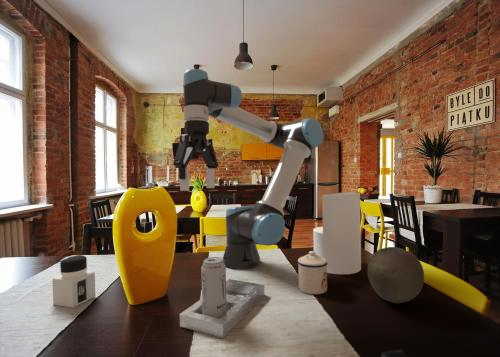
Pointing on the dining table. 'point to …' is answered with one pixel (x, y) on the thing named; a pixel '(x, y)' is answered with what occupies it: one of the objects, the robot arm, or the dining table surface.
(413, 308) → the dining table surface
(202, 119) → the robot arm
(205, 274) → the energy drink can
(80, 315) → the dining table surface
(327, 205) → the cylinder
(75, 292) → the container
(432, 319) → the dining table surface
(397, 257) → the cantaloupe
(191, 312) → the rail
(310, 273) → the teacup with lid
